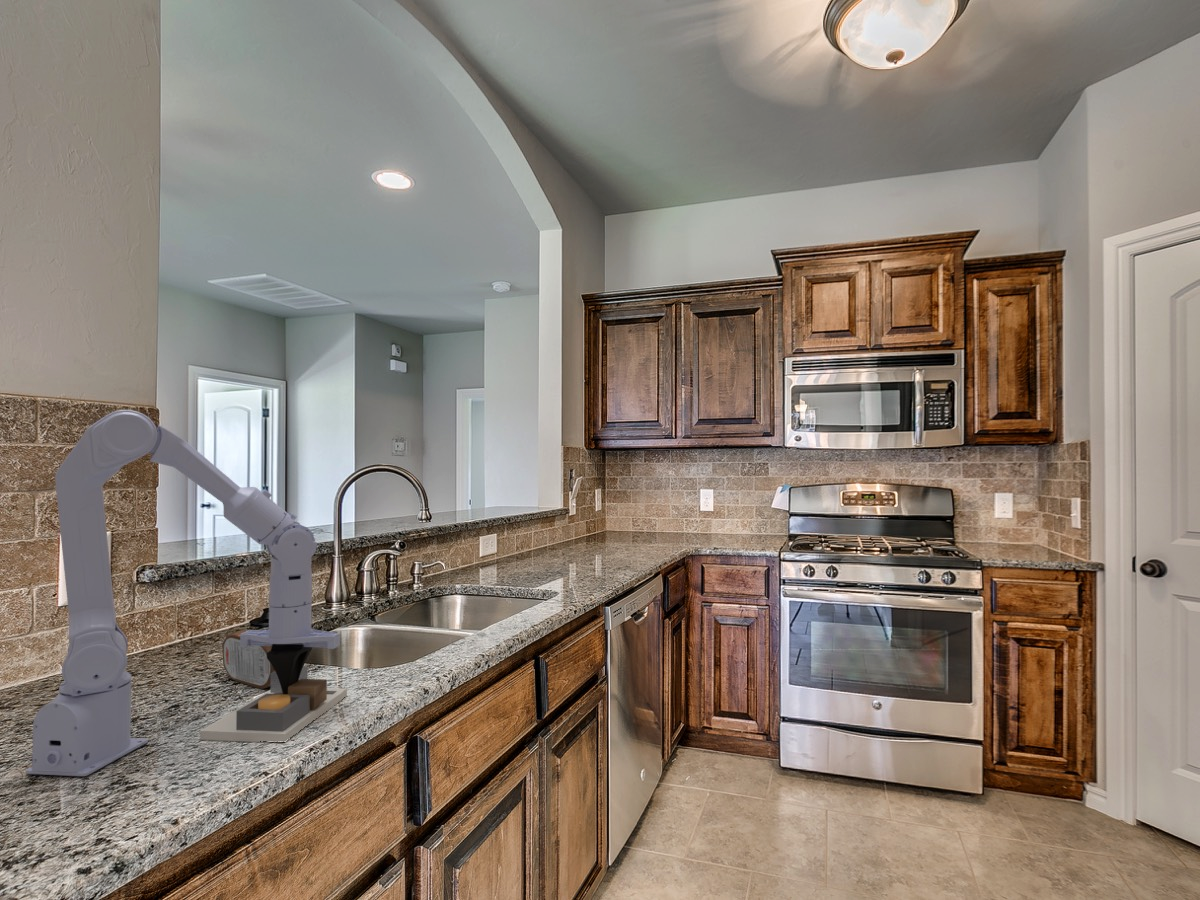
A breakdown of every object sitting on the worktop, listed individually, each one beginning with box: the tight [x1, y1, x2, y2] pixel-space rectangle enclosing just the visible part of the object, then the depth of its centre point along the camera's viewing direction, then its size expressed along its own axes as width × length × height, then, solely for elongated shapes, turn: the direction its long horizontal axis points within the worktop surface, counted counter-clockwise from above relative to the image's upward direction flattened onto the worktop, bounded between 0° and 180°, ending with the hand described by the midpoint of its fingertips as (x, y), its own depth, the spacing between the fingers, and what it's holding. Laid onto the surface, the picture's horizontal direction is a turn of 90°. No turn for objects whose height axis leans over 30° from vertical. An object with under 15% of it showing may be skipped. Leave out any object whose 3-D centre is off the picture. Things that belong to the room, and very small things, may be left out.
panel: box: [199, 687, 348, 743], centre depth 93 cm, size 17×12×4 cm
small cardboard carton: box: [288, 678, 328, 708], centre depth 94 cm, size 4×4×3 cm
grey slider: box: [269, 666, 308, 693], centre depth 100 cm, size 4×4×3 cm
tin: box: [221, 629, 275, 690], centre depth 107 cm, size 15×3×8 cm, turn 59°
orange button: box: [258, 694, 290, 710], centre depth 88 cm, size 4×4×2 cm
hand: (289, 695), depth 94 cm, fingers closed
